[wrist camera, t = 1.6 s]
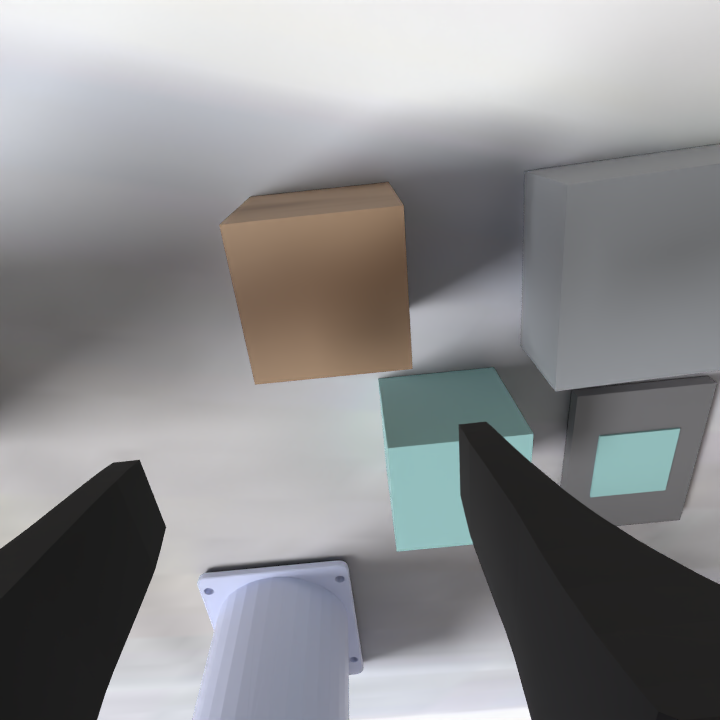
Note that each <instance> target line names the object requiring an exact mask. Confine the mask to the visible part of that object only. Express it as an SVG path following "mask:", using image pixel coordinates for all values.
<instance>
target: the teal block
mask: <svg viewBox="0 0 720 720" xmlns="http://www.w3.org/2000/svg"><path fill="white" fill-rule="evenodd" d="M378 380H379V391H380V402H381V413H382V424H383V435H384V446H385V457H386V468H387V476H388V484H389V492H390V500H391V508H392V517H393V525H394V533H395V541H396V549H397V552H398V551H408V550H419V549H429V548H440V547H450V546H461V545H471V544H473V542H472V539H471V537H470V533H469V529H468V525H467V521H466V517H465V513H464V509H463V504H462V500H461V496H460V462H459V424H467V423H477V422H487V423H489V424H490V425H491V426H492V427H493V428H494V429H495V430H496V431H497V432H498V433H499V434H501V435H502V436H503V437H504V438H505V439H506V440H507V441H508V442H509V443H510V444H511V445H512V446H513V447H515V448H516V449H517V450H518V451H519V452H520V453H521V454H522V455H523V456H524V457H526V458H527V459H528V460H529V461H530V462H531V459H532V447H533V432H532V431H531V429H530V427H529V426H528V424H527V422H526V421H525V419H524V417H523V416H522V414H521V412H520V410H519V409H518V407H517V405H516V404H515V402H514V400H513V399H512V397H511V395H510V394H509V392H508V390H507V389H506V387H505V385H504V384H503V382H502V380H501V379H500V377H499V375H498V374H497V372H496V370H495V369H494V367H490V368H480V369H470V370H460V371H450V372H440V373H430V374H420V375H410V376H400V377H390V378H380V379H378Z"/></svg>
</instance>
